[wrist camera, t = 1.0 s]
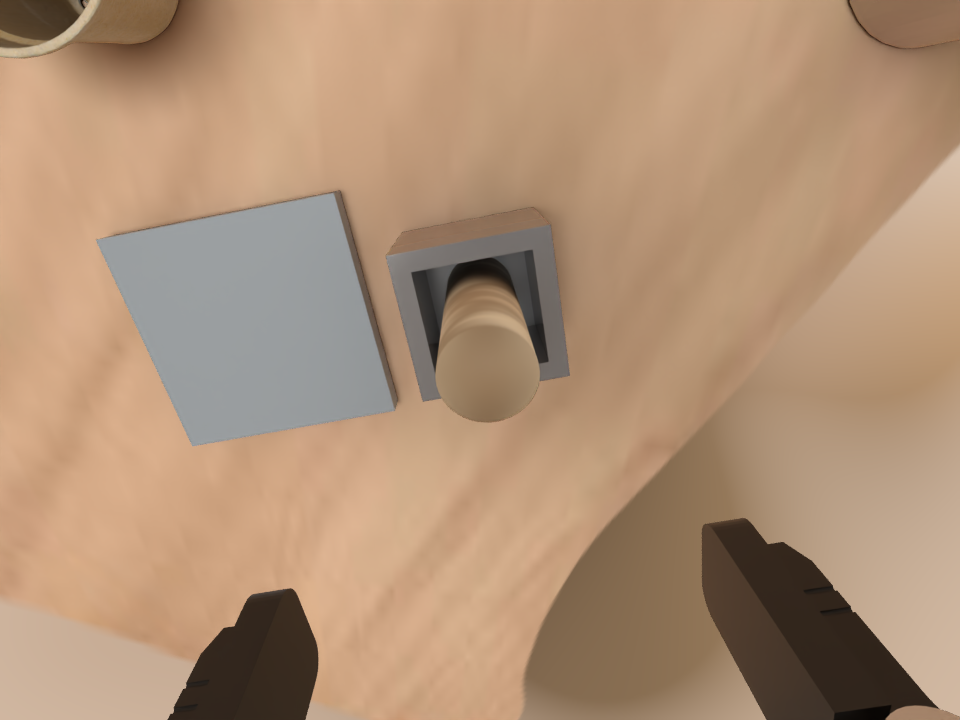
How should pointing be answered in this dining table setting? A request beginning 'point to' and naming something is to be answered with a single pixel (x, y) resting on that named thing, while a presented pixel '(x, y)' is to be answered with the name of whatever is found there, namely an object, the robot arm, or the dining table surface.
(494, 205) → the dining table surface
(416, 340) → the grey open box
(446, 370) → the dowel
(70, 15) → the flower pot
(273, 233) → the board
